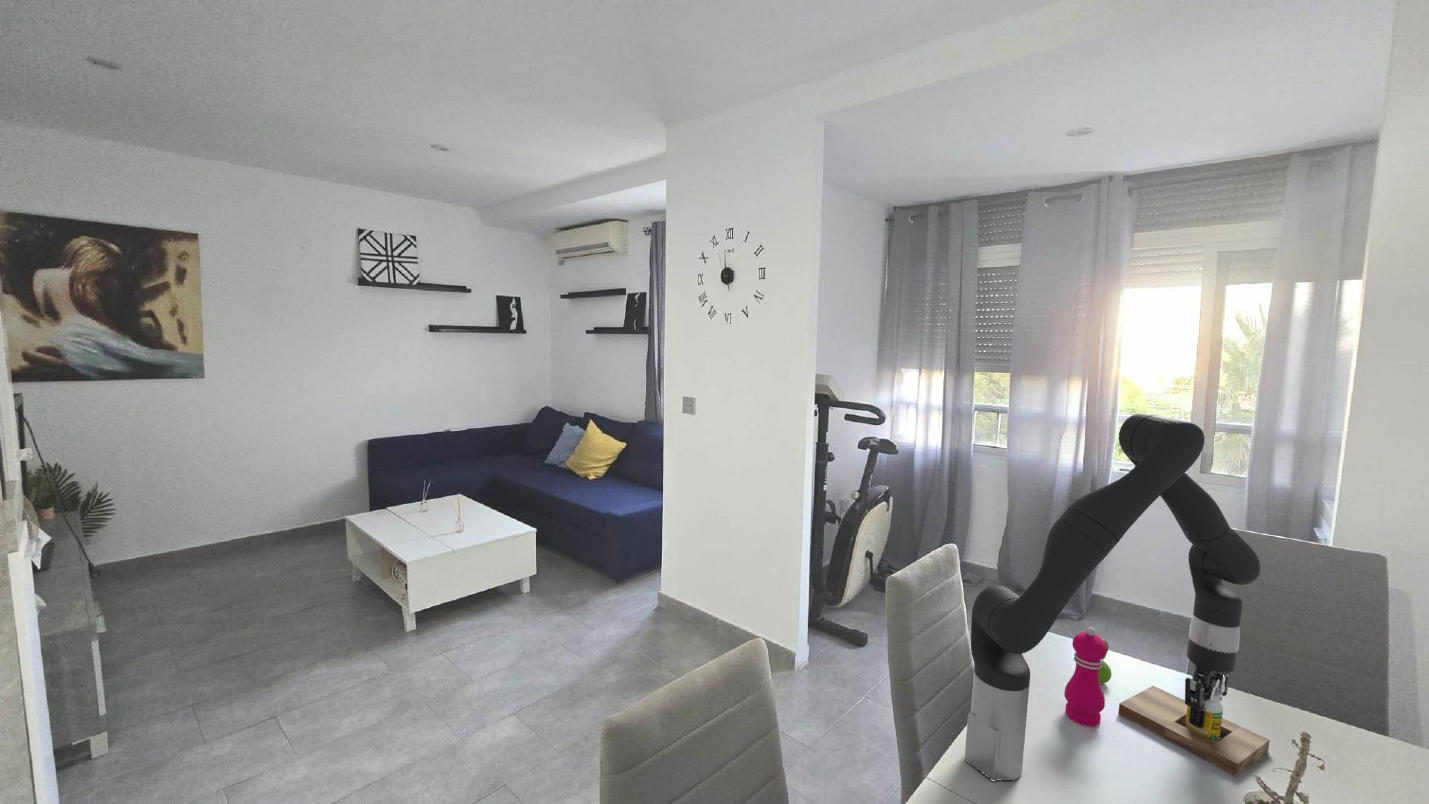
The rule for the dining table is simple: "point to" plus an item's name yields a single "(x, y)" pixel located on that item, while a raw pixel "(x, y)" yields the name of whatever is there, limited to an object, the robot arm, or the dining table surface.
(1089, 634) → the pepper mill
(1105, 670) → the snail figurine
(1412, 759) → the dining table surface
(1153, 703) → the collar plate
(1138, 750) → the dining table surface
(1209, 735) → the supplement bottle
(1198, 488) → the robot arm
